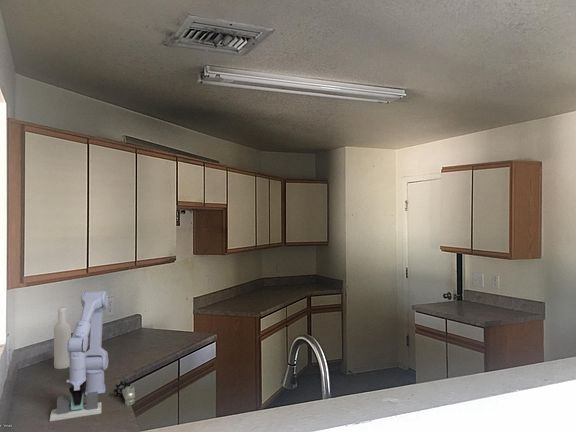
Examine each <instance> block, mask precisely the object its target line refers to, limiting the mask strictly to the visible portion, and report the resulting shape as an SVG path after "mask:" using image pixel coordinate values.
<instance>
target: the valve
mask: <svg viewBox="0 0 576 432" xmlns="http://www.w3.org/2000/svg"><path fill="white" fill-rule="evenodd" d="M114 386H115V388H114V389H113V390H112V391H113V393H115V397H118V396H119V397H120V398H124V404H125V405H126V406H132V405H134V404H135V402H136V401H135V398H136V393H135V392H136V391H135V390H136V389H135V386H133V385H132V386H129V385H128V382H127V381H124V382H123V381H122V380H121V381H119V384H118V383H115V384H114ZM123 386H124V387H123Z"/></svg>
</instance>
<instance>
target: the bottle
mask: <svg viewBox="0 0 576 432" xmlns="http://www.w3.org/2000/svg"><path fill="white" fill-rule="evenodd" d="M67 310H68V309H67V307H65V306H62V307H58V308H57V314H58V315H57V317H58V318H57V323H56V324H55V325H54V328H53V355H54V356H53V360H54V361H53V368H54V369H56V370H63V369H68V368H70V357H68V352H67V342H68V340H69V339H71V338H72V327H71V324H70V323H69V321H67Z"/></svg>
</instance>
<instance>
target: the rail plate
mask: <svg viewBox="0 0 576 432" xmlns="http://www.w3.org/2000/svg"><path fill="white" fill-rule="evenodd" d="M100 414H102V402H101V401H100V402H99V394H98V392H91V393H87V395H86V404H83V409H77V410H71V406H70V395H63V396H58V397H57V399H56V408H55V409H52V410H51V413H50V416H49V422H53V421H54V422H56V421H61V420H62V421H63V420H67V419H74V418H81V417H86V416H92V415H100Z"/></svg>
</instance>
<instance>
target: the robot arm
mask: <svg viewBox="0 0 576 432" xmlns="http://www.w3.org/2000/svg"><path fill="white" fill-rule="evenodd" d="M108 295H109V294H108V293H107V291H106V290H100V291H98V290H97V291H94V290H93V291H91V290H90V291H87V290H84V291H83V292H82V294H81V297H80V303H81V306H82V312H81V316H80V320H79V321H77V322H76V324H75V327H74V329H73V333H72V334H71V339H69V340H68V342H67V352H68V357H70V367H69V378H68V379H66V383H67V384H68V383H69V384H70V386H71V387H69V389H68V391H69V392H70V395H71V394H72V397H73V401H74V405H80V404H81V400H82V395H83V396H84V395H85V396H87V393H91V392H98V395H99V394H105V393H106V384H105V371H106V370H107V368H108V367H109V353H108V351H107V350H105V349H104V348H103V347H102V343H103V342H102V339H103V338H102V337H103V324H104V323H103V319H104V318H103V317H104V311H105V310H107V309H108V301H109V296H108ZM89 334H90V336H89ZM88 344H89V345H88ZM88 346H89V349H88ZM87 349H88V350H87ZM85 385H86V386H85ZM84 392H85V393H84Z"/></svg>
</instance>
